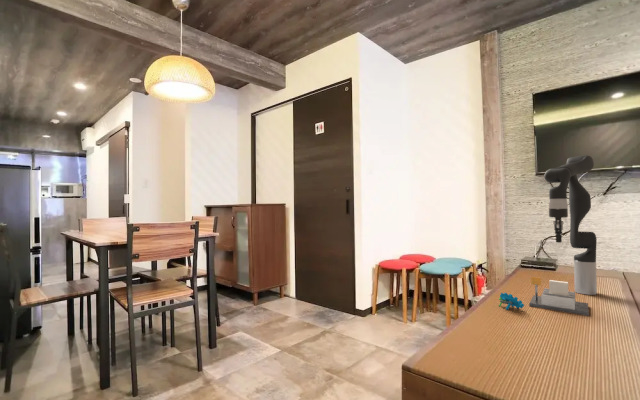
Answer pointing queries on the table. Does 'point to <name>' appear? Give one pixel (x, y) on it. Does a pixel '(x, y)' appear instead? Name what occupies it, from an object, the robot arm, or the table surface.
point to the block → (558, 287)
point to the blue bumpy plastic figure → (510, 301)
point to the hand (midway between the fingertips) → (558, 242)
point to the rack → (557, 301)
